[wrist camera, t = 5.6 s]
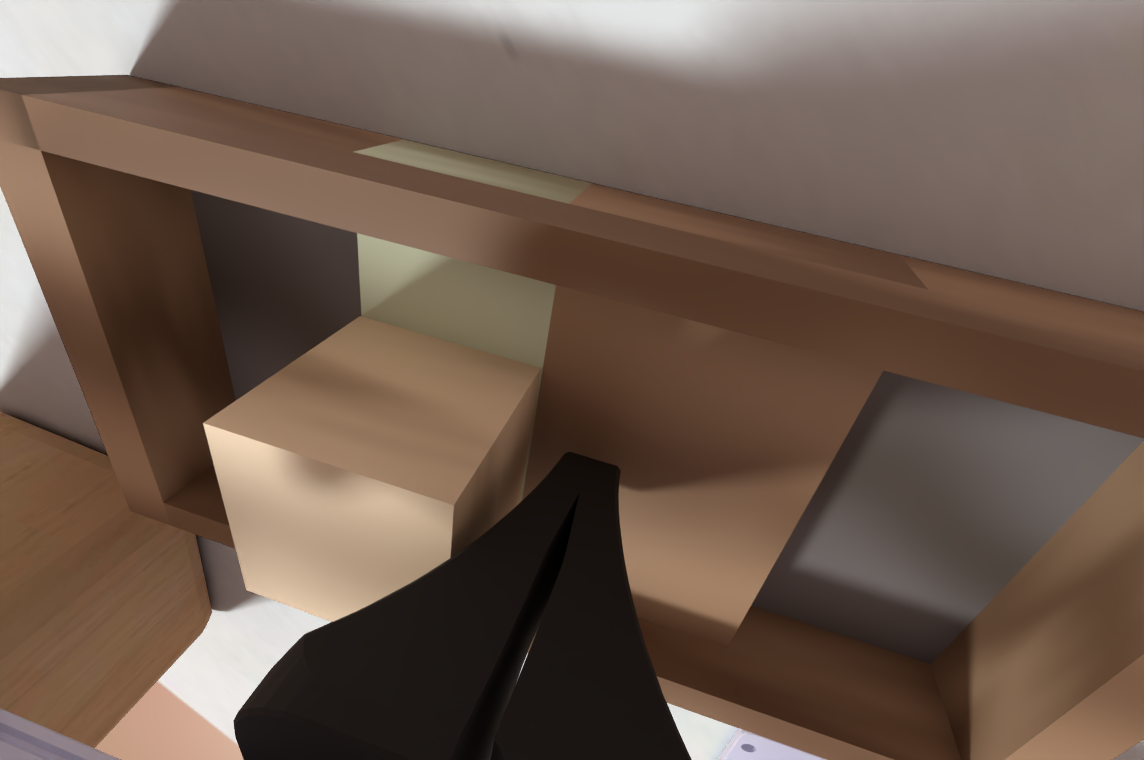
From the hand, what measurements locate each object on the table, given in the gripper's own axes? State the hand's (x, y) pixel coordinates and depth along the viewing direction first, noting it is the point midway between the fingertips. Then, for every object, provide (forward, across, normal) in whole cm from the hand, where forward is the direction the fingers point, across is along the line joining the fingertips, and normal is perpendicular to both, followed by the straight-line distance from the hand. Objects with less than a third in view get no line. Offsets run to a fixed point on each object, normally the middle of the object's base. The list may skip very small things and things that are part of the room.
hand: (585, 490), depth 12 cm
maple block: (+1, +4, 0) cm, 4 cm away
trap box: (+3, +1, 0) cm, 3 cm away
